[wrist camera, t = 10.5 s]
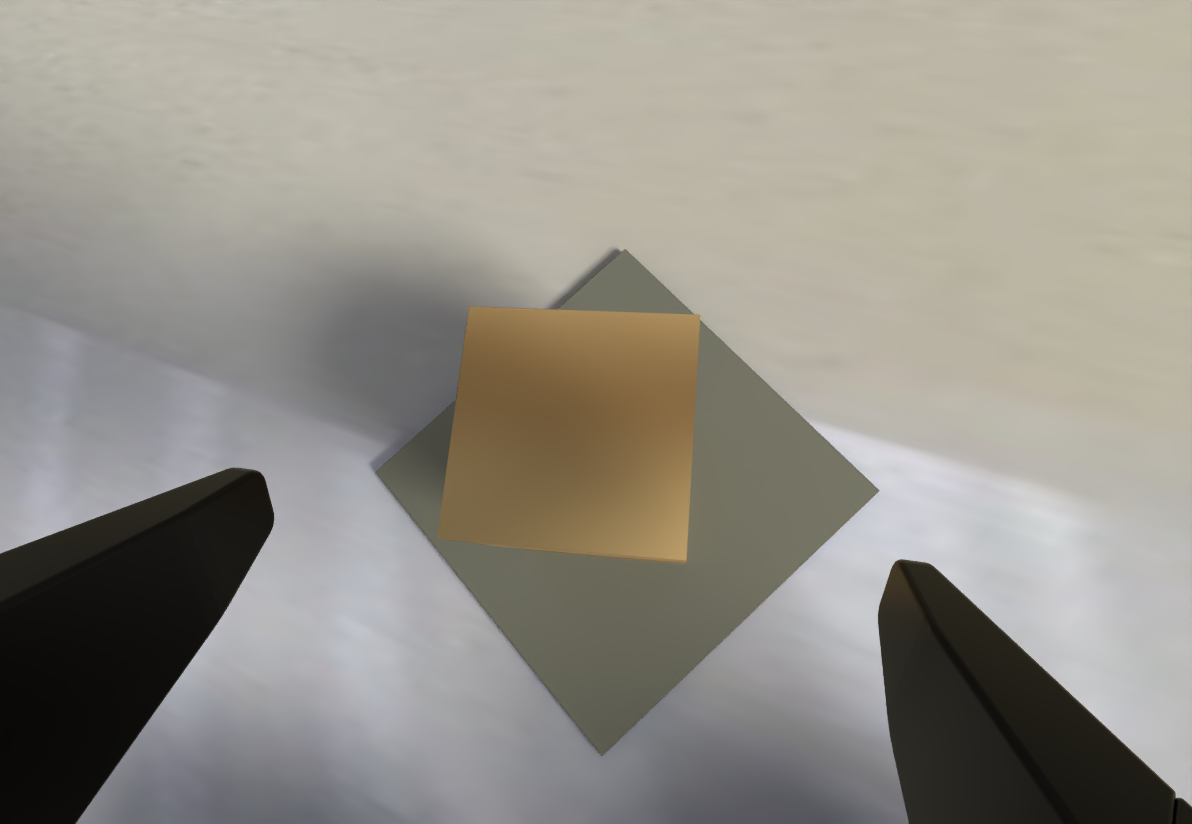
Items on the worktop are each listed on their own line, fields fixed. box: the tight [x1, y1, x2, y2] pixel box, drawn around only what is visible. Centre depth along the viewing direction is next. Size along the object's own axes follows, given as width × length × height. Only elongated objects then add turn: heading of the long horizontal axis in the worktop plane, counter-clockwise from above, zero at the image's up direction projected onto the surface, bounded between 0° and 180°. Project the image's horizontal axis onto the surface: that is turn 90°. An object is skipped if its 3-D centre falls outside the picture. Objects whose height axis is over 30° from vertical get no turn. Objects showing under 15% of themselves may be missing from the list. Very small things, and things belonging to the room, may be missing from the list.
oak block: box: [437, 307, 700, 564], centre depth 18 cm, size 5×5×9 cm
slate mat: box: [376, 249, 880, 756], centre depth 22 cm, size 12×12×1 cm
